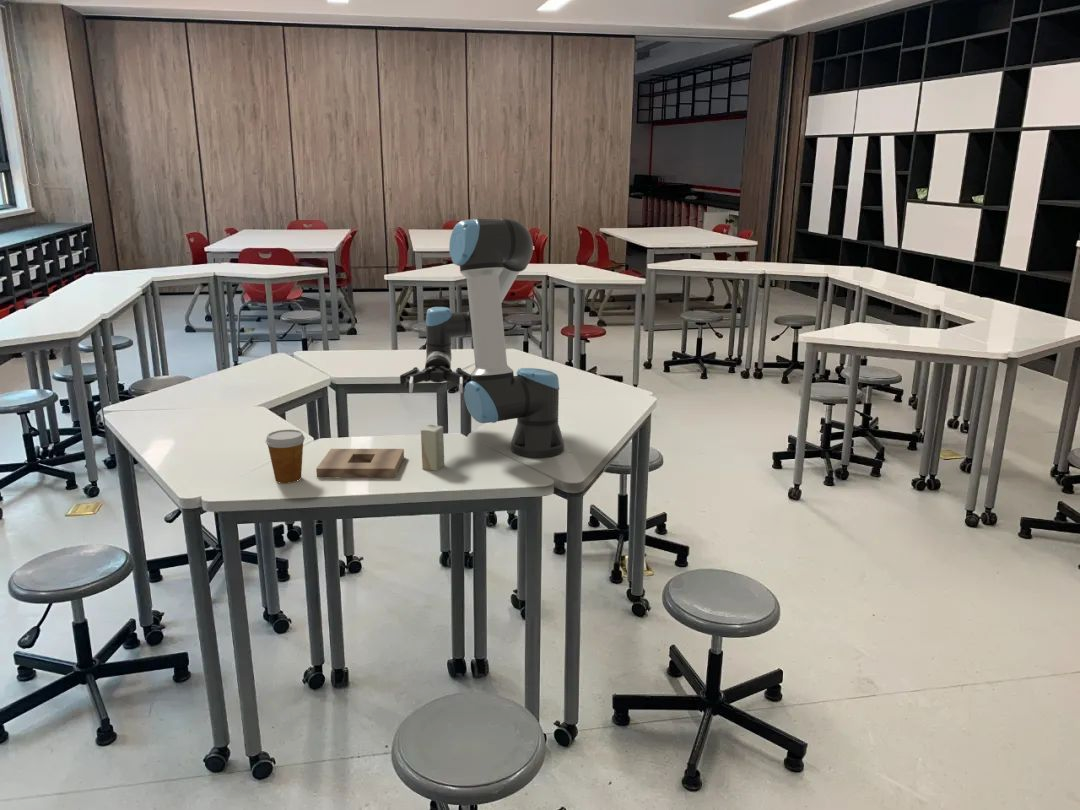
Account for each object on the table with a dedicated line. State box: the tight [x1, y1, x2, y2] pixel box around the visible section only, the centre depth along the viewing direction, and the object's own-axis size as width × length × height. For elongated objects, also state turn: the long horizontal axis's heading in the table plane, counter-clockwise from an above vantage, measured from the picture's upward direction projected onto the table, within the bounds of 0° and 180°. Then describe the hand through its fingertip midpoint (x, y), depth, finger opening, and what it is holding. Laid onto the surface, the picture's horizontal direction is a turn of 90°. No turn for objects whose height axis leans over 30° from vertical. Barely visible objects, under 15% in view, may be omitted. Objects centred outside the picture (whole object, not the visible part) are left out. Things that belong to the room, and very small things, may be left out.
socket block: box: [316, 448, 405, 479], centre depth 216 cm, size 20×16×2 cm
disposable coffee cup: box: [264, 428, 306, 484], centre depth 206 cm, size 10×10×12 cm
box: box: [420, 424, 445, 472], centre depth 215 cm, size 5×4×11 cm
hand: (435, 388), depth 220 cm, fingers open, 13 cm apart
